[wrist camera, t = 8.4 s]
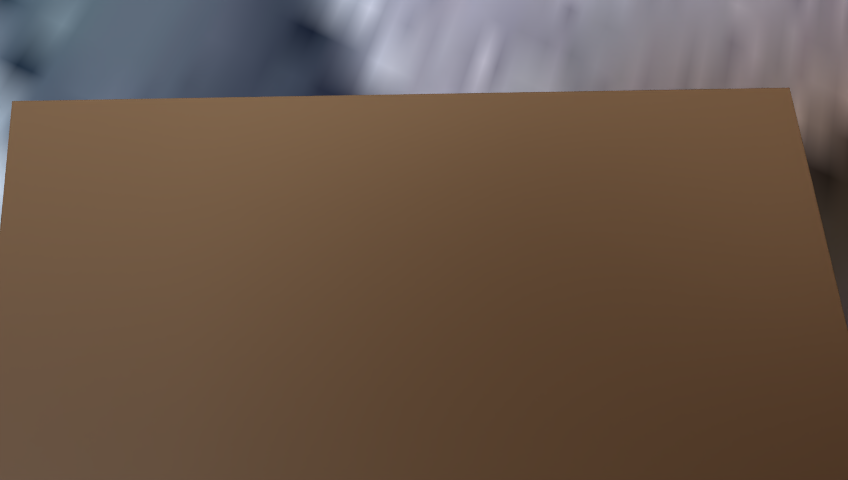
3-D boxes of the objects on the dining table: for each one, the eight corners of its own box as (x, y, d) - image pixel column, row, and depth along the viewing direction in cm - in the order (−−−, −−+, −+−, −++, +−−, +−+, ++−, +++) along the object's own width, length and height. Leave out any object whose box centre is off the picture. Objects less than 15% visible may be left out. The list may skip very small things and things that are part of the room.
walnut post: (478, 480, 15) (1009, 1001, 3) (295, 500, 15) (-100, 1285, 2) (461, 301, 16) (789, 87, 4) (291, 312, 16) (12, 100, 3)
